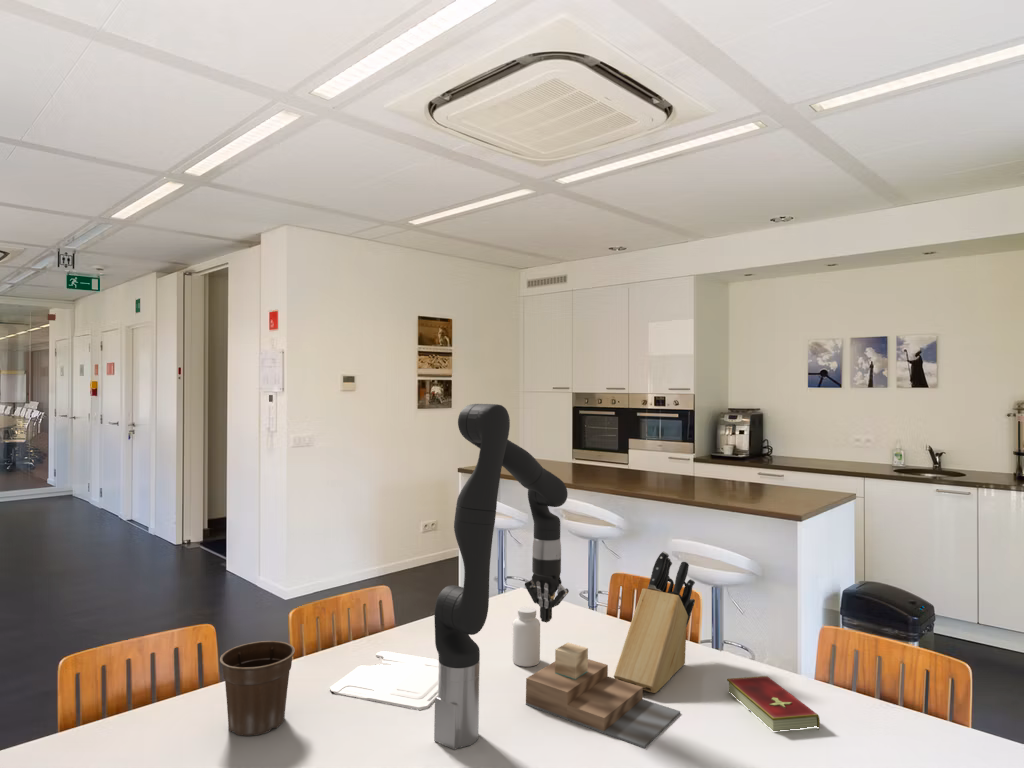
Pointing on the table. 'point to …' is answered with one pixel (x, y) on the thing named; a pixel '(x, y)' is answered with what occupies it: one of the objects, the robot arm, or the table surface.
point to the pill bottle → (526, 638)
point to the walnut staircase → (599, 703)
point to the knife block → (657, 629)
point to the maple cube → (571, 660)
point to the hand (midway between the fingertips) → (545, 621)
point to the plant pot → (256, 685)
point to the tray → (393, 681)
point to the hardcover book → (772, 703)
